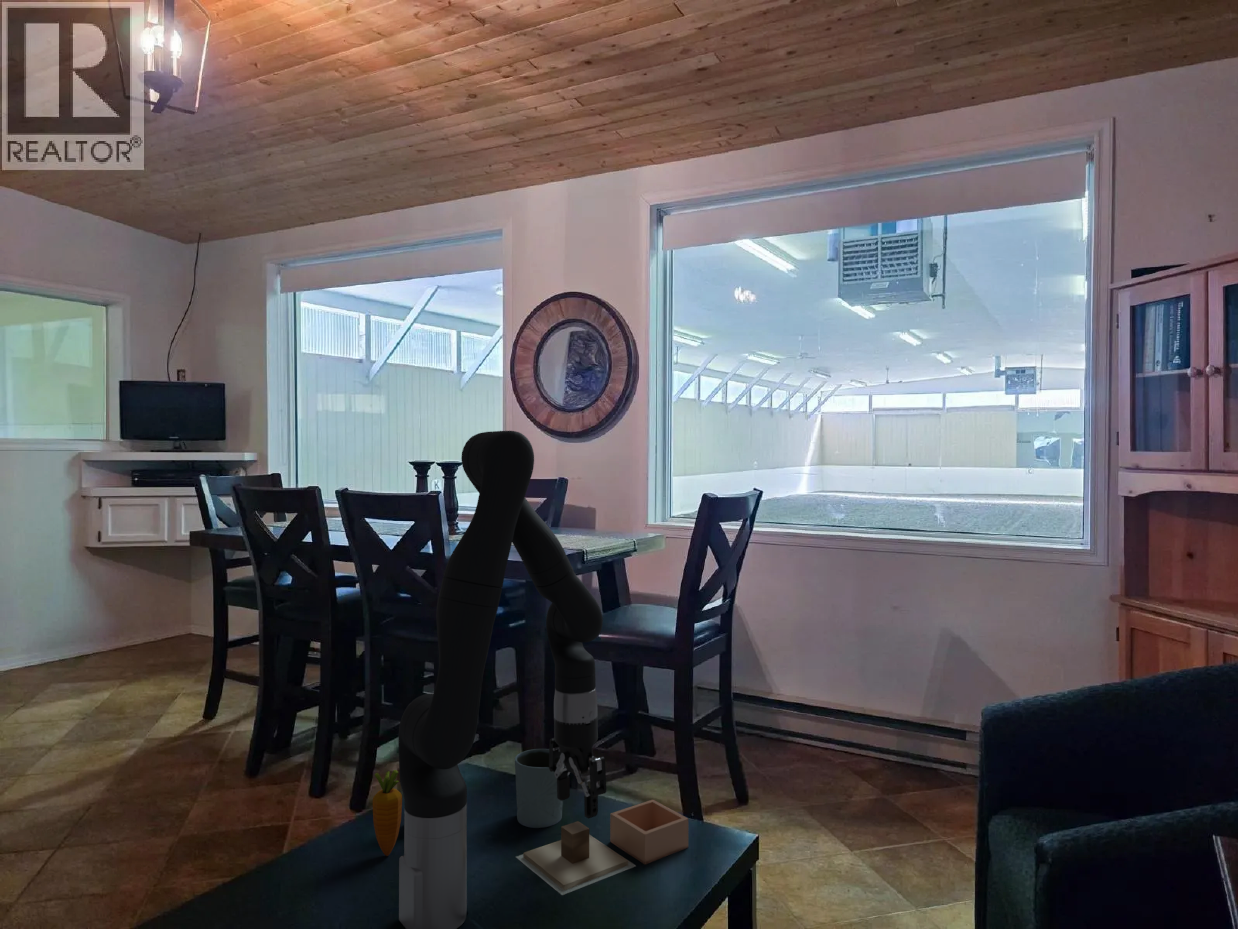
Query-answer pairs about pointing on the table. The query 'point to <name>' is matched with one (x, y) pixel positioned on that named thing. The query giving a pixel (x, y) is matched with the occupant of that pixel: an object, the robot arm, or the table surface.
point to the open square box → (649, 831)
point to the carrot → (387, 812)
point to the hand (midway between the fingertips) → (577, 807)
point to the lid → (574, 857)
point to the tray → (562, 892)
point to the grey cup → (536, 790)
